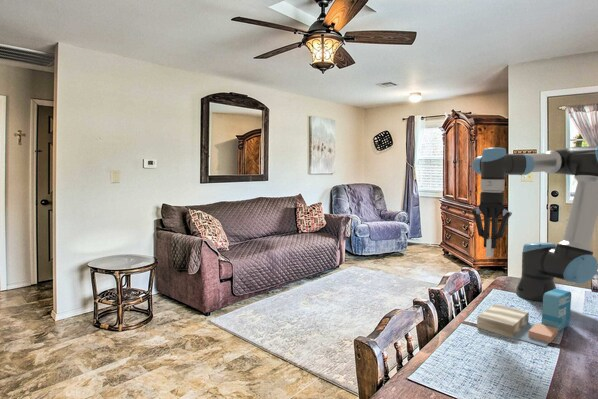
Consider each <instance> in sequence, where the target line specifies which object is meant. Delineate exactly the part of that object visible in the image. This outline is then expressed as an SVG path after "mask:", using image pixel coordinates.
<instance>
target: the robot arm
mask: <svg viewBox="0 0 598 399" xmlns="http://www.w3.org/2000/svg"><path fill="white" fill-rule="evenodd" d="M472 170H473V172H474V173H476V174H477V175H480V191H481V192H480V193H479V194H480V195H479V205H478V207H477V208H475V209H472V210H471V213H472V214H473V216H474V220H475V226H476V230H477V235H478V236H479V237H481V238H483V247H484V248H486V249H485V258H490V259H491V258H493V257H494V249H496V248H497V242H498V239H501V238H503V236H504V234H505V231H506V227H507V225H508V221H509V219H510V217H511V216H512V212H511V211H508V210H507V209H506V207H505V205H504V203H505V193H504V192H503V191H505V184H506V183H505V182H506V180H505V179H506V175H507V176H510V175H511V176H524V175H525V176H526V175H529V174H530V173H539V172H540V173H546V174H550V175H551V174H558V175H567V176H574V179H575V180H576V182H577V184H576V188H575V192H574V194H573V195H574V196H573V198H572V199H573V200H572V204H571V208H570V211H569V215H568V219H567V223H566V227H565V230H564V235H563V238H562V240H561V241H559V242H557V243H554V242H526V243H524V245H523V246H522V247H523V248H522V251H521V252H522V253H521V257H522V258H521V277H520V279H519V281H518V284H517V286H516V290H515V291H516V292H515V294H516V295H517V296H519V297H521V298H524V299H527V300H530V301H536V302H542V303H543V296H544V294H545V293H546V292H548V291H551V290H553V289H557V287H556V284H555V278H556V279H560V280H563V281H565V282H568V283H575V284H577V285H578V284H579V285H582V284H586V283H588V282H590V281H591V280H593V278H594V277H595V276H596V274H597V272H598V260H597V258H596V257H595V256H594V255H593V254H594V250H593V249H592V248H591V242H592V239H593V234H594V231H595V227H596V223H597V220H598V145H588V146H587V145H586V146H571V147H566V148H560V149H556V150H555V149H553V150H547V151H544V153H543V152H542V153H507V149H506V148H505V147H487V148H486V147H485V148H484V149H483V150H482V154H481V156H480V155H479V156H477V157H475V159H473V162H472ZM481 214H482V215H483V221H482V217H481V216H482V215H481ZM501 215H502V219H501V221H500V224H499V223H498V222H499V217H500V216H501ZM498 224H499V225H498ZM498 226H499V227H498ZM490 228H491V229H490ZM498 228H499V229H498ZM490 231H491V233H490ZM490 234H491V235H490Z"/></svg>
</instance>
